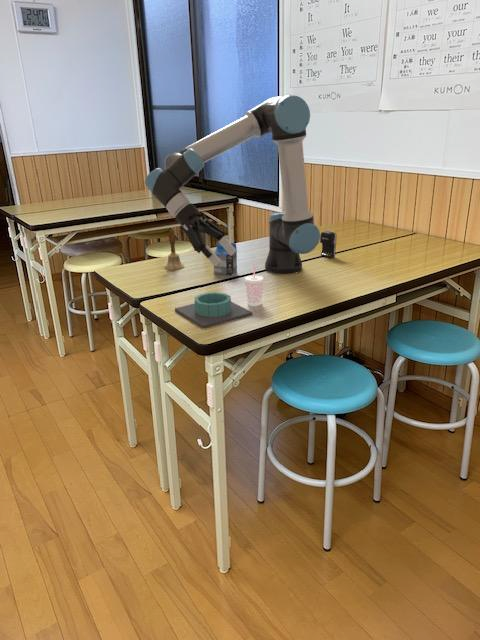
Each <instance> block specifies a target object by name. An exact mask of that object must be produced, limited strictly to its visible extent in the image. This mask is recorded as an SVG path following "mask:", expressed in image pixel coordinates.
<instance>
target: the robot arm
mask: <svg viewBox="0 0 480 640" xmlns="http://www.w3.org/2000/svg"><path fill="white" fill-rule="evenodd" d="M310 120H311V111H310V107H309V105H308V103H307V102H306V101H305V100H304V99H303V98H302V97H300V96H298V95H294V94H293V95H292V94H285V95H281V96H273V97H270V98H268V99H267V100H265V101H263V102H261V103H260V104H258V105H257V106H255V107H253V108H252V109H249V110H248V111H246V113H245V115H244V116H243V117H240V119H239V118H238V119H237V120H235V121H234V122H231V123H230V124H227V125H225V126H224V127H222V128H220V129H218V130H217V131H214V132H212V133H210V134H209V135H207V136H205V137H202V138H201V139H199V140H197V141H195V142H193V143H191V144H190V145H188V146H185V148H183V149H180V150H178V151H176V152H172V153H169V154H168V155H167V156H166V157H165V159H164V163H163V165H164V168H165V169H162V168H161V167H157V168H156V167H155V168H154V169H153V170H152V171H150V172H149V173H148V174H147V176H146V177H145V179H144V186H146V188H147V189H148V190H149V191H150V192H151V194H152V195H153V196H154V197H155V198H156V199H157V200H158V202H160V204H161V205H162V206H163V207H164V208H165V209H166V210H167V211H168V214H170V215H171V216H172V217H173V218H175V221H177V223H178V224H179V225H180V226H182V227H181V229H182V230H183V231H184V233H185V235H186V237H187V239H188V241H189V242H190V244H191V246H192V248H193V249H194V252H197V253H198V254H200V253H202V254H203V255H204V256H205V258H206V259H208V260H209V262H210V263H212V265H213V267H214V266H217V265H218V264H219V263H220V262H221V260H220V259H219V258H218V256H217V255H216V254H215V253H214V252H215V251H213V250H212V248H211V247H210V246H209V245H206V243H205V240H204V236H203V235H202V234H207V236H210V237H212V238H213V239H215V240H217V241H218V242H219V243H220V244H221V246H222V247H223V248H224V249H225V250H226V251H227V252H228V253H229V254H230V256H232V255H233V254H234V253H235V252H236V251H238V249H237V248H236V249H237V250H236V249H235V248H234V247H233V246H232V245H231V243H232V242H230V241H229V240H228V238H227V237H225V236H226V232H225V231H224V230H223V229H221V228H220V227H219V226H217V225H216V224H214V223H213V222H212V221H210V220H209V219H208V218H207V217H206V216H205V215H204V214H203V215H201V216H199V215H198V214H199V209H198V208H197V207H196V206H195V205H194V204H193V203H192V202H191V200H190V199H189V198H188V197H187V196H186V195H185V193H183V192H182V191H181V188H183V186H184V185H186V184H187V183H188V182H189V181H190V180H192V179H193V177H195V176H196V175H197V174H199V173H200V171H201V170H203V168H204V167H205V163H206V162H209V161H211V160H212V159H215V158H217V157H218V156H220V155H222V154H224V153H225V152H227V151H229V150H232V149H234V148H235V147H237V146H239V145H241V144H243V143H244V142H247V141H248V140H251V139H253V138H257V139H259V138H261V137H262V136H264V135H267V134H271V138H272V142H273V143H275V144H276V145H277V151H278V160H279V169H280V176H281V177H280V180H281V187H282V195H283V206H284V211H283V212H274V213H271V214H270V216H269V221H268V224H269V225H268V226H269V227H268V228H269V229H268V230H269V238H268V239H269V242H268V244H269V245H268V247H269V251H268V254H267V256H266V257H267V258H266V260H265V263H264V270H265V271H267V272H268V273H272V274H279V275H288V274H289V275H291V274H296V272H297V273H299V272H301V271H302V270H303V262H302V259H301V255H305V254H309V253H310V252H311V253H312V251H314V249H316V248H317V246H318V244H319V243H320V236H321V231H320V229H319V227H317V225H316V224H315V218H314V213H313V212H312V211H310V210H309V201H308V198H309V197H308V187H307V181H306V180H307V178H306V176H307V175H306V167H305V157H304V146H303V145H304V144H303V143H304V140H305V138H306V137H307V127H308V125H309V123H310ZM300 254H301V255H300Z"/></svg>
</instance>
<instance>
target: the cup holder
mask: <svg viewBox="0 0 480 640" xmlns="http://www.w3.org/2000/svg"><path fill="white" fill-rule="evenodd" d="M174 311H175V313H177V314H179V315H180V316H182V317H184V318H185V319H187V320H189V321H190V322H192V323H193V324H195V325H197V326H198V327H200V329H203V328H204V329H208V328H211V327H214V326H218V325H221V323H222V324H225V322H226V323H228V321H229V322H232V320H233V321H236V319H237V320H240V319H243V317H244V318H247V317H251V316H253V312H252V311H251V310H249V309H247V308H245V307H243V306H241V305H239V304H238V303H235V302H233V301H232V298H231V296H230V295H229V294H227V293H223V292H217V291H215V292H205V293H200V294H198V295H196V296H194V303H191V304H187V305H183V306H179V307H175V308H174ZM250 315H251V316H250Z"/></svg>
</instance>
